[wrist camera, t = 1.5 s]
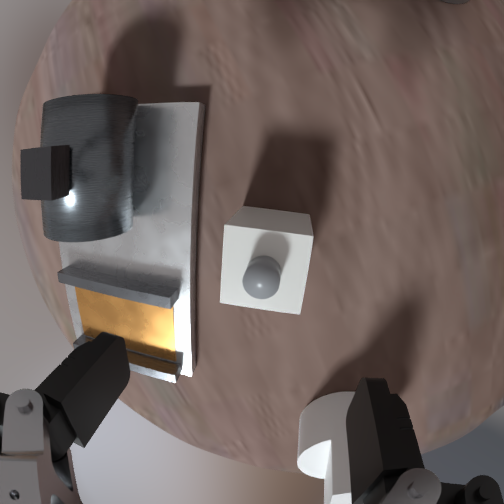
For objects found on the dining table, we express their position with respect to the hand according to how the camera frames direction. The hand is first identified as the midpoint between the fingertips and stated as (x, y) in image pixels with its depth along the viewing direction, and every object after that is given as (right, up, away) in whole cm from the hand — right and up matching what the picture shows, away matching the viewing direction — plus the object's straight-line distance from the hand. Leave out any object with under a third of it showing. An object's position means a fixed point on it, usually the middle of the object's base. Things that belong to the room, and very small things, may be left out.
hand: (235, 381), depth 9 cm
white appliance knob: (+10, -14, +20) cm, 26 cm away
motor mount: (-11, +5, +16) cm, 20 cm away
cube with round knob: (+2, +5, +14) cm, 15 cm away
